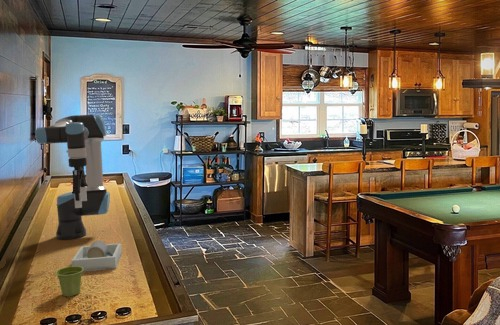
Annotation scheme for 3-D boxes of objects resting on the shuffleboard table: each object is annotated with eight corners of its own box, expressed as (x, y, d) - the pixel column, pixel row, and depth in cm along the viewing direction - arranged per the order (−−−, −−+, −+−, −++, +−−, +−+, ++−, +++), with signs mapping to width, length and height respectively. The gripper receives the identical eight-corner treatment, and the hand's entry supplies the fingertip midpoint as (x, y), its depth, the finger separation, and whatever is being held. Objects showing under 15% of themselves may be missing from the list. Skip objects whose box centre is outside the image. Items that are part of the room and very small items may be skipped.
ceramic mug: (86, 264, 198) (85, 246, 197) (90, 258, 206) (89, 241, 205) (112, 262, 199) (111, 245, 198) (115, 256, 207) (114, 239, 207)
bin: (82, 257, 211) (81, 246, 211) (121, 253, 214) (120, 243, 213) (72, 272, 191) (71, 260, 191) (115, 268, 194) (115, 257, 193)
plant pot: (88, 288, 173) (86, 265, 172) (80, 298, 164) (78, 274, 163) (63, 289, 173) (61, 266, 172) (53, 299, 164) (51, 275, 163)
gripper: (73, 154, 217) (77, 198, 220) (62, 161, 193) (66, 211, 196) (90, 153, 219) (94, 197, 222) (81, 160, 194) (85, 210, 197)
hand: (81, 204), depth 209 cm, fingers open, 13 cm apart
